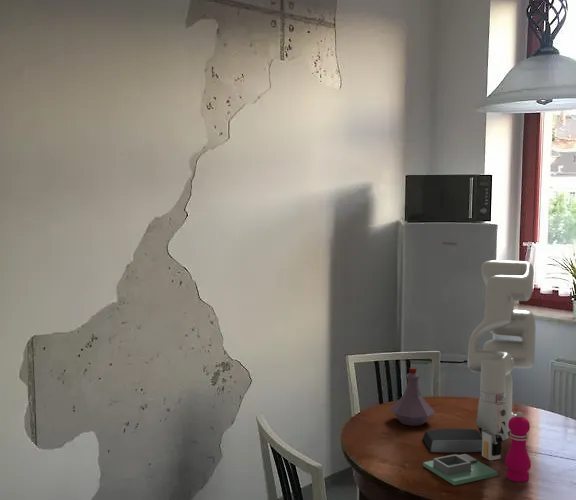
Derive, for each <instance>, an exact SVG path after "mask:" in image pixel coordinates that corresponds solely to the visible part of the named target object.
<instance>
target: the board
mask: <svg viewBox="0 0 576 500" xmlns="http://www.w3.org/2000/svg"><path fill="white" fill-rule="evenodd" d="M422 465H423V467H424V468H426V469H427V470H429V471H430V472H431V473H433V474H436V475H437V476H438V477H440V478H442V479H444V480H445V481H447V482H448V483H449V484H451V485H453V486H458V485H463V484H467V483H471V482H475V481H480V480H485V479H489V478H493V477H497V476H499V471H497V470H496V469H494V468H492V467H490V466H488V465H486V464H484V463H482V462H481V461H479V460H478V459H476V458H475V457H473V456H471V455H469V454H466V453H463V454H457V453H455V454H449V455H445V456H439V457H434V458H433V460H428V461H423V464H422Z"/></svg>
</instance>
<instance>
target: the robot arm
mask: <svg viewBox="0 0 576 500" xmlns="http://www.w3.org/2000/svg"><path fill="white" fill-rule="evenodd" d="M480 271H481V272H480V273H481V277H482V279H483V282H484V285H485V300H484V301H485V302H484V317H483V320H482V321H481V322H480V323H479V324H478V325H476V327H475V328H474V330H473V331H472V332H471V335H470V337H469V341H468V350H467V367H468V370H470V371H471V372H472V373H475V374H480V391H479V392H480V395H479V400H478V405H477V413H476V414H477V415H476V419H477V420H476V422H475V425H476V427H477V428H478V432H479V433H480V434H481V437H482V432H483V431H488V432H490V433H492V434H493V441H494V443H492V455H493V456H497V455H502V444H503V442H504V441H506V440H508V439H509V438H510V435H509V433H510V432H511V431H510V429H509V427H508V423H509V420H510V419H511V418H512V417H515V416H516V413H515V414H514V412H513V382H514V381H513V377H512V375H511V372H513V370H514V369H531V368H532V367H533V366H534V364H535V359H536V318H535V315H534V313H533V312H531V311H530V310H523V309H515V308H514V304H515V303H514V301H516V302H517V301H518V302H528V301H529V300H530V299H531V297H532V294H533V286H534V276H535V274H534V273H535V272H534V267H533V264H532V263H531V262H529V261H524V260H504V259H503V260H500V259H499V260H498V259H493V260H485V262H483V263H482V265H481V269H480ZM487 333H490V334H493V335H495V336H502V337H515V338H520V339H521V340H513V339H512V340H510V339H502V338H501V339H500V338H497V339H496V338H495V339H489V340H486V341H485V343H484V344H483V346H482V349H478V345H479V344H478V343H479V341H480V339H481V338H482V337H483V336H484V335H486V334H487ZM498 435H499V438H497V436H498Z"/></svg>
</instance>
